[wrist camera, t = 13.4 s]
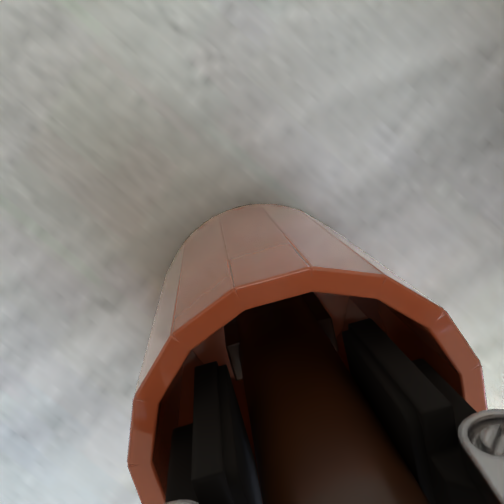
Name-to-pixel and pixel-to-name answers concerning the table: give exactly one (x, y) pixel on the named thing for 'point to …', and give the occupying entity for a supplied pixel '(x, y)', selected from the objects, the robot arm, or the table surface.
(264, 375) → the brown cylindrical rod
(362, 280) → the utensil cup
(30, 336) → the table surface
